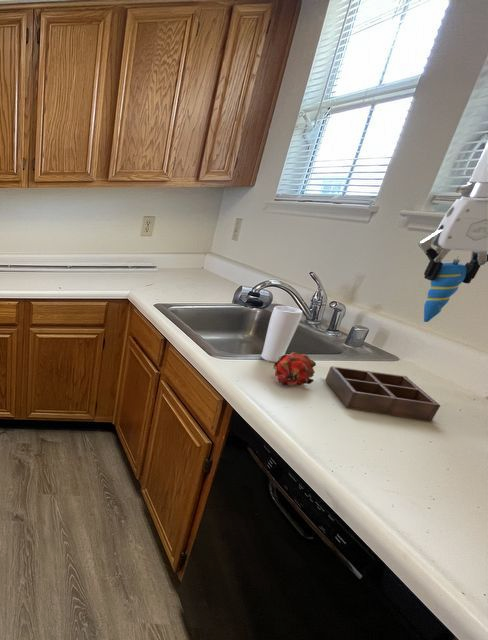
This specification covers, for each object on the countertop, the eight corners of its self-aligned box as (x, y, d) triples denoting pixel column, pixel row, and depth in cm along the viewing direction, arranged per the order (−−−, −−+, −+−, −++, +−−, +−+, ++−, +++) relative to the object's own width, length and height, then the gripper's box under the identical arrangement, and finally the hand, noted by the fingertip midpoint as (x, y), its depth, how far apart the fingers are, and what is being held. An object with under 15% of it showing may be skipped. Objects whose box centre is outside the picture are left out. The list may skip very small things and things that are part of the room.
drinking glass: (254, 353, 124) (269, 304, 118) (279, 355, 123) (296, 306, 116) (262, 362, 118) (279, 311, 112) (289, 365, 117) (308, 313, 110)
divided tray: (398, 390, 104) (405, 376, 102) (431, 421, 91) (440, 405, 89) (324, 380, 109) (330, 365, 107) (346, 407, 96) (353, 392, 94)
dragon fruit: (293, 380, 112) (285, 402, 104) (269, 357, 113) (259, 377, 106) (325, 363, 105) (319, 385, 98) (299, 339, 106) (291, 359, 99)
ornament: (409, 321, 98) (440, 256, 91) (412, 316, 101) (442, 253, 94) (439, 326, 94) (474, 259, 88) (441, 322, 97) (475, 256, 91)
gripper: (446, 192, 85) (405, 280, 93) (561, 194, 79) (508, 288, 87) (427, 190, 91) (391, 273, 99) (533, 193, 86) (485, 281, 94)
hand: (446, 279), depth 93 cm, fingers closed on ornament, 5 cm apart
